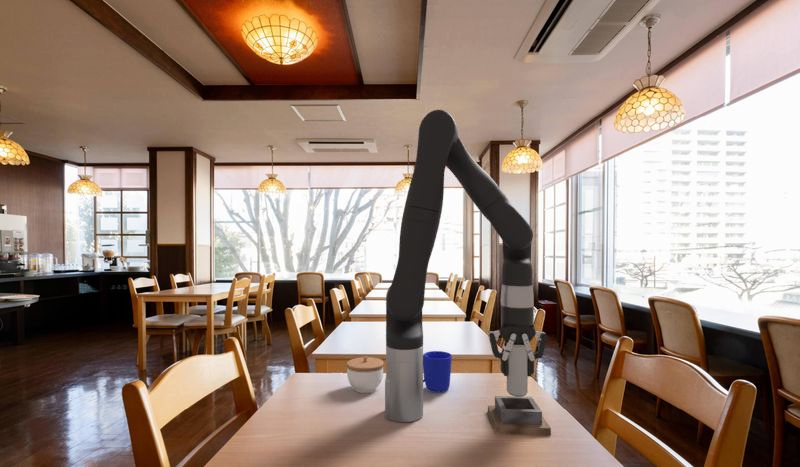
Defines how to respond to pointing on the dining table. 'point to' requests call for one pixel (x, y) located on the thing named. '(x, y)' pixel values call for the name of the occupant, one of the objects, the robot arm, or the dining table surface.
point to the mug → (437, 370)
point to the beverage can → (517, 371)
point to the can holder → (517, 416)
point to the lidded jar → (365, 373)
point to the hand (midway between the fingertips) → (517, 375)
